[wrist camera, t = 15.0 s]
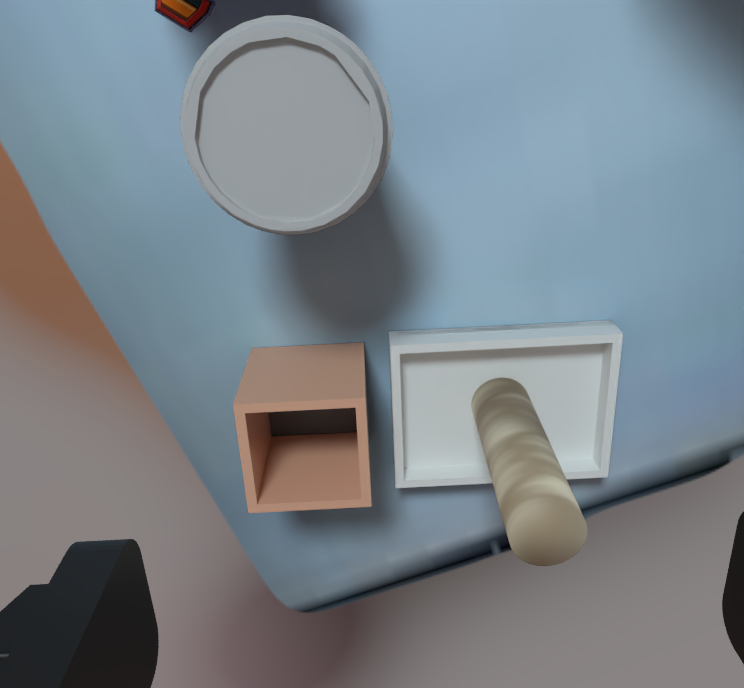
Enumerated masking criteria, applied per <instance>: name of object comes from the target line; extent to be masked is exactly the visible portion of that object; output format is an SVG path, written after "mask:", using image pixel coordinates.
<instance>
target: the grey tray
mask: <svg viewBox="0 0 744 688" xmlns="http://www.w3.org/2000/svg"><path fill="white" fill-rule="evenodd" d="M622 338H623V333H622V332H621V331H620V330H619V329H618V328H617V327H616V326H615V325H614V323H613V322H612V321H611V320H603V321H583V322H564V323H544V324H525V325H505V326H486V327H467V328H447V329H428V330H408V331H389V356H390V381H391V406H392V431H393V456H394V475H395V486H396V488H409V487H429V486H448V485H467V484H487V483H492V479H491V476H490V472H489V469H488V465H487V462H486V458H485V455H484V451H483V447H482V444H481V440H480V437H479V433H478V430H477V426H476V423H475V419H474V416H473V412H472V408H471V403H472V398H473V395H474V393H475V391H476V390H477V389H478V388H479V387H480V386H481V385H482V384H483V383H485V382H487V381H489V380H491V379H495V378H510V379H513V380H516V381H517V382H519V383H520V384H522V385H523V387H524V388H525V389H526V391H527V393H528V395H529V397H530V400H531V402H532V404H533V406H534V409H535V411H536V413H537V415H538V417H539V420H540V422H541V424H542V426H543V429H544V431H545V433H546V435H547V437H548V440H549V442H550V444H551V446H552V448H553V451H554V453H555V455H556V457H557V460H558V462H559V464H560V466H561V468H562V471H563V473H564V475H565V477H566V479H583V478H602V477H608V470H609V461H610V451H611V442H612V432H613V423H614V414H615V404H616V395H617V385H618V376H619V367H620V357H621V348H622Z"/></svg>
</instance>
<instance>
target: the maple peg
mask: <svg viewBox="0 0 744 688" xmlns="http://www.w3.org/2000/svg"><path fill="white" fill-rule="evenodd" d="M471 408H472V412H473V416H474V419H475V423H476V426H477V430H478V433H479V437H480V440H481V444H482V447H483V451H484V455H485V458H486V462H487V465H488V469H489V472H490V476H491V479H492V483H493V486H494V490H495V494H496V497H497V501H498V504H499V508H500V511H501V515H502V518H503V522H504V525H505V529H506V532H507V536H508V540H509V543H510V546H511V549H512V550H513V552H514V553H515V555H517V556H518V557H519V558H520V559H521V560H523V561H525V562H527V563H529V564H533V565H538V566H550V565H556V564H559V563H562V562H564V561H566V560H568V559H570V558H572V557H573V556H574V555H575V554H577V553H578V552H579V550H580V549H581V548H582V546H583V545H584V543H585V541H586V538H587V525H586V522H585V519H584V517H583V515H582V513H581V511H580V508H579V506H578V504H577V502H576V500H575V497H574V495H573V493H572V491H571V488H570V486H569V484H568V482H567V480H566V477H565V475H564V473H563V471H562V468H561V466H560V464H559V462H558V460H557V457H556V455H555V453H554V451H553V448H552V446H551V444H550V442H549V440H548V437H547V435H546V433H545V431H544V429H543V426H542V424H541V422H540V420H539V417H538V415H537V413H536V411H535V409H534V406H533V404H532V402H531V400H530V397H529V395H528V393H527V391H526V389H525V388H524V387H523V385H522V384H520V383H519V382H517V381H516V380H513V379H510V378H495V379H491V380H489V381H487V382H485V383H483V384H482V385H481V386H480V387H479V388H478V389H477V390H476V391H475V393H474V395H473V398H472V403H471Z"/></svg>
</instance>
